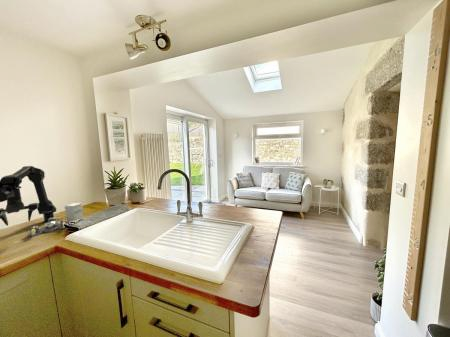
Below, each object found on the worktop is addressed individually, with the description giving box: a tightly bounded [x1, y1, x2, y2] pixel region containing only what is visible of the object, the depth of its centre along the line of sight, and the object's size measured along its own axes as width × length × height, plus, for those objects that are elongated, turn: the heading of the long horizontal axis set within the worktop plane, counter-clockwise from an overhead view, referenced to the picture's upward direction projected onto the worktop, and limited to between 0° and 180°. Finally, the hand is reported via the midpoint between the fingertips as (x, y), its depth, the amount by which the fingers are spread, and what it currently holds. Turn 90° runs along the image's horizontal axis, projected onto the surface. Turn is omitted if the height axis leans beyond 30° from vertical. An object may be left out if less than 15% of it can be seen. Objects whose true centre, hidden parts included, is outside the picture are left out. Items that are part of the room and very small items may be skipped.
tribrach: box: [27, 221, 68, 238], centre depth 133 cm, size 19×22×5 cm
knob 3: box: [59, 219, 69, 228], centre depth 131 cm, size 8×4×3 cm, turn 37°
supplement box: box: [64, 202, 85, 222], centre depth 143 cm, size 7×7×13 cm
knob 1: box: [29, 225, 40, 235], centre depth 122 cm, size 8×4×3 cm, turn 37°
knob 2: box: [48, 216, 64, 222], centre depth 139 cm, size 8×4×3 cm, turn 127°
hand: (18, 223), depth 116 cm, fingers open, 9 cm apart
